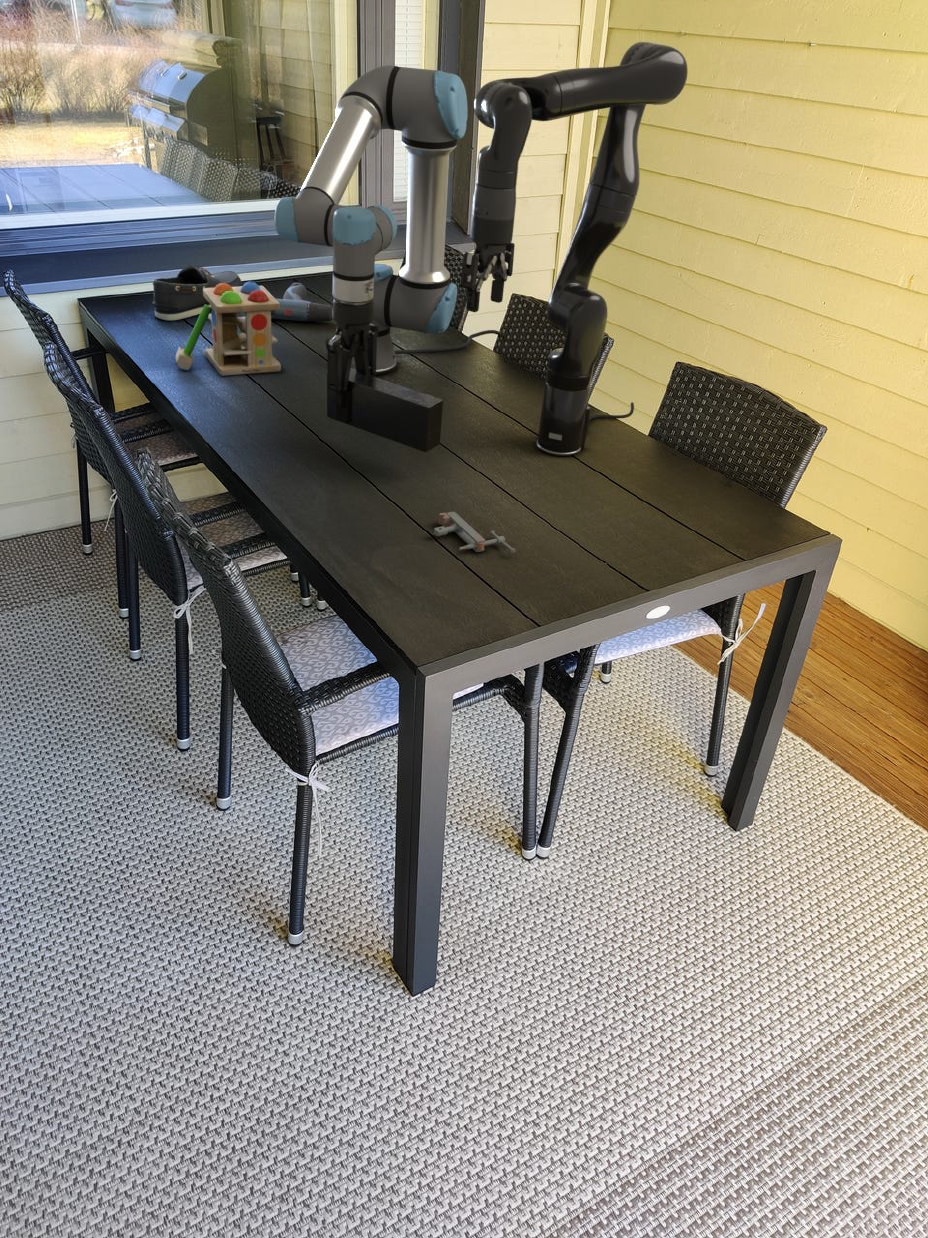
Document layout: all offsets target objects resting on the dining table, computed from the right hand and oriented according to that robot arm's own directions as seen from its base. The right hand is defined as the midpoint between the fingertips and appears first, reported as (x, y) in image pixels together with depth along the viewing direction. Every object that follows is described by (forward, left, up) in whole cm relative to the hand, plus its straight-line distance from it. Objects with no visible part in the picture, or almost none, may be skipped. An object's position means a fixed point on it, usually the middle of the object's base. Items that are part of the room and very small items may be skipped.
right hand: (484, 306), depth 179 cm
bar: (+16, -7, -25) cm, 31 cm away
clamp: (+16, +27, -32) cm, 45 cm away
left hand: (+20, -14, -24) cm, 34 cm away
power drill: (-6, -98, -32) cm, 103 cm away
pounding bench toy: (+27, -67, -32) cm, 79 cm away
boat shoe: (+18, -111, -32) cm, 117 cm away
